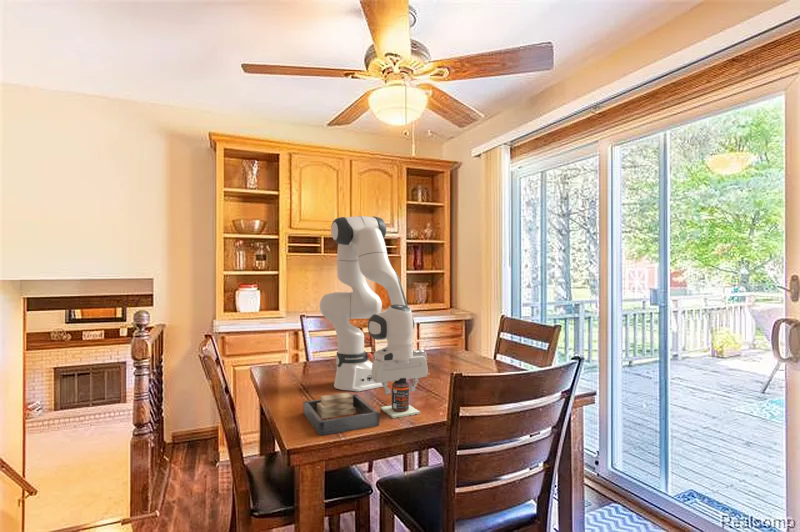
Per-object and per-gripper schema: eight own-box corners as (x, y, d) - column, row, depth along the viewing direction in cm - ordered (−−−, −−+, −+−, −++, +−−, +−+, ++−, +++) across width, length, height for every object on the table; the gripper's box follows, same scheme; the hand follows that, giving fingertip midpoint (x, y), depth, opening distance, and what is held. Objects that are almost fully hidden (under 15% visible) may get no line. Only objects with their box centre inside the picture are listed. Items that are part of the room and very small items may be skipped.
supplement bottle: (395, 413, 143) (395, 379, 143) (389, 407, 148) (389, 375, 148) (411, 411, 145) (411, 377, 145) (404, 405, 151) (404, 373, 151)
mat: (406, 405, 154) (406, 403, 154) (419, 414, 145) (419, 411, 145) (381, 409, 149) (381, 407, 149) (393, 418, 140) (393, 416, 140)
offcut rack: (356, 405, 153) (356, 394, 153) (379, 425, 134) (379, 412, 134) (303, 413, 145) (303, 401, 145) (319, 435, 126) (319, 422, 126)
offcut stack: (349, 408, 151) (349, 391, 151) (355, 414, 145) (355, 396, 145) (316, 414, 145) (316, 396, 145) (321, 420, 140) (321, 401, 140)
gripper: (422, 348, 154) (422, 386, 154) (369, 353, 145) (369, 393, 145) (431, 351, 148) (431, 391, 149) (376, 356, 140) (376, 399, 140)
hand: (400, 392), depth 147 cm, fingers open, 8 cm apart
